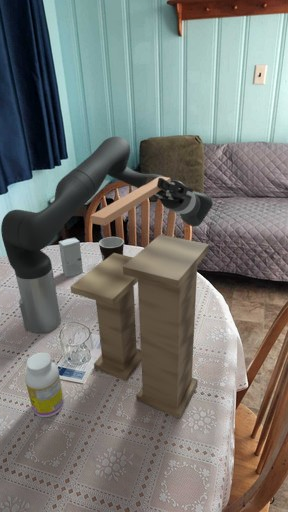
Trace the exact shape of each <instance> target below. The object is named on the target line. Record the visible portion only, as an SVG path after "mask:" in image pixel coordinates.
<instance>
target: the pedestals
mask: <svg viewBox="0 0 288 512" xmlns="http://www.w3.org/2000/svg"><path fill="white" fill-rule="evenodd" d="M209 248H210V244H209V243H204V242H200V241H194V240H190V239H184V238H178V237H175V236H169V235H163V234H159V235H158V236H157V237H155V238H154V239H153V240H152V241H151V242H149V243H148V244H147V245H146V246H145V247H144V248H142V250H140V251H139V252H138V253H137V254H136V255H134V256H129V255H125V254H123V255H121V254H116V253H113V254H112V255H110V256H109V257H108V258H107V259H105V260H104V261H103V260H102V262H100V263H99V264H97V265H96V266H94V267H93V268H92V269H91V270H90V271H88V272H86V274H85V275H83V276H82V277H80V278H79V279H78V280H76V282H74V283H73V284H72V285H70V293H71V294H73V295H76V296H80V297H84V298H87V299H90V300H94V301H95V306H96V313H97V314H96V315H97V323H98V325H97V326H98V333H99V340H100V341H99V342H100V352H101V355H100V356H99V357H98V359H97V360H96V361H95V362H94V363H93V369H94V370H97V371H100V372H102V373H105V374H107V375H110V376H112V377H115V378H117V379H120V380H122V381H124V382H128V380H130V378H131V377H132V375H133V374H134V373H135V371H136V370H137V368H139V366H140V365H141V388H140V389H139V391H137V394H136V396H135V398H136V401H137V402H139V403H142V404H143V405H146V406H148V407H151V408H153V409H155V410H157V411H160V412H163V413H165V414H167V415H169V416H171V417H174V418H176V419H178V420H180V419H181V417H182V415H183V413H184V411H185V409H186V407H187V406H188V403H189V401H190V399H191V398H192V396H193V394H194V391H195V390H196V387H197V386H198V382H199V381H198V379H197V378H194V377H193V362H194V359H193V358H194V341H195V340H194V339H195V338H194V337H195V323H196V322H195V321H196V319H195V317H196V297H197V278H198V275H197V274H198V265H199V264H200V263H201V261H202V260H203V259H204V258H205V257H206V255H208V253H209V250H210V249H209ZM136 284H137V295H138V297H137V298H138V315H139V317H138V318H139V338H140V339H139V342H140V349H138V347H137V345H138V344H137V327H136V309H135V307H136V306H135V288H134V287H135V286H136Z"/></svg>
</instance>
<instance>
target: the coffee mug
mask: <svg viewBox="0 0 288 512" xmlns="http://www.w3.org/2000/svg"><path fill="white" fill-rule="evenodd" d="M98 246H99V250H100V255H101V259H102V262H103V261H104V260H105V259H107V258H108V257H109V256H110V255H112V254H113V253H116V254H121V255H124V246H125V241H124V239H123V238H121V237H117V236H110V237H109V236H108V237H104V238H102V239H100V240H99V241H98Z"/></svg>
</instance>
